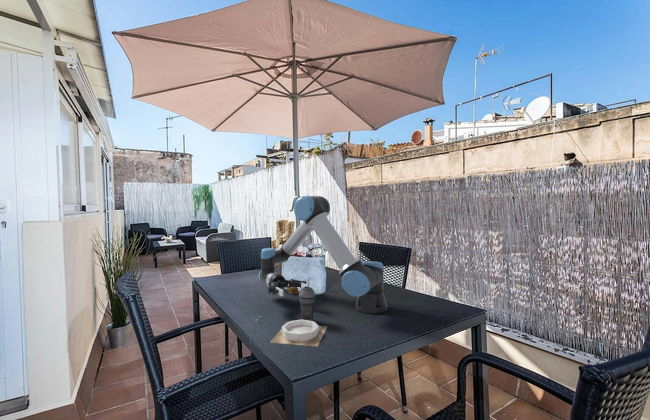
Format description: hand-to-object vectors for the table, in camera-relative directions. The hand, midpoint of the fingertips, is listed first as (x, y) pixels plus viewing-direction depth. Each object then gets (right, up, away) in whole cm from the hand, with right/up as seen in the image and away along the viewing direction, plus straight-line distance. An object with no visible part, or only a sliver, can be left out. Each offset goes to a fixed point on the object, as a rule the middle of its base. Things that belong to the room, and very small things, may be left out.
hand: (296, 291), depth 142 cm
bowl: (+4, -11, -21) cm, 24 cm away
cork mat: (+4, -12, -21) cm, 24 cm away
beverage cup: (+6, -12, -8) cm, 15 cm away
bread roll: (-4, -11, +38) cm, 40 cm away
